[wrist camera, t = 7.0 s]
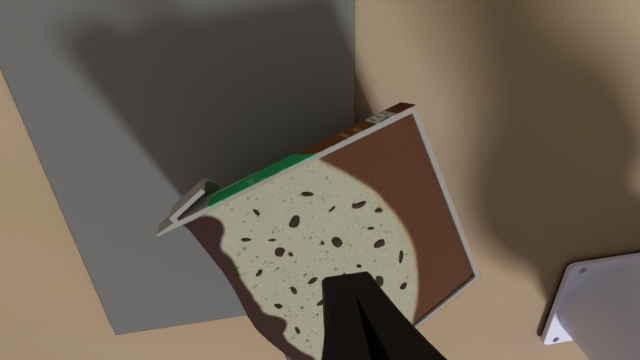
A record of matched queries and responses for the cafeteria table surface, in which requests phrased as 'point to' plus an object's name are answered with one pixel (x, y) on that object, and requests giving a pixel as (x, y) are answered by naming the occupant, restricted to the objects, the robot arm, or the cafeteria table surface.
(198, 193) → the food container
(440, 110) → the cafeteria table surface
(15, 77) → the mat
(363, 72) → the cafeteria table surface
